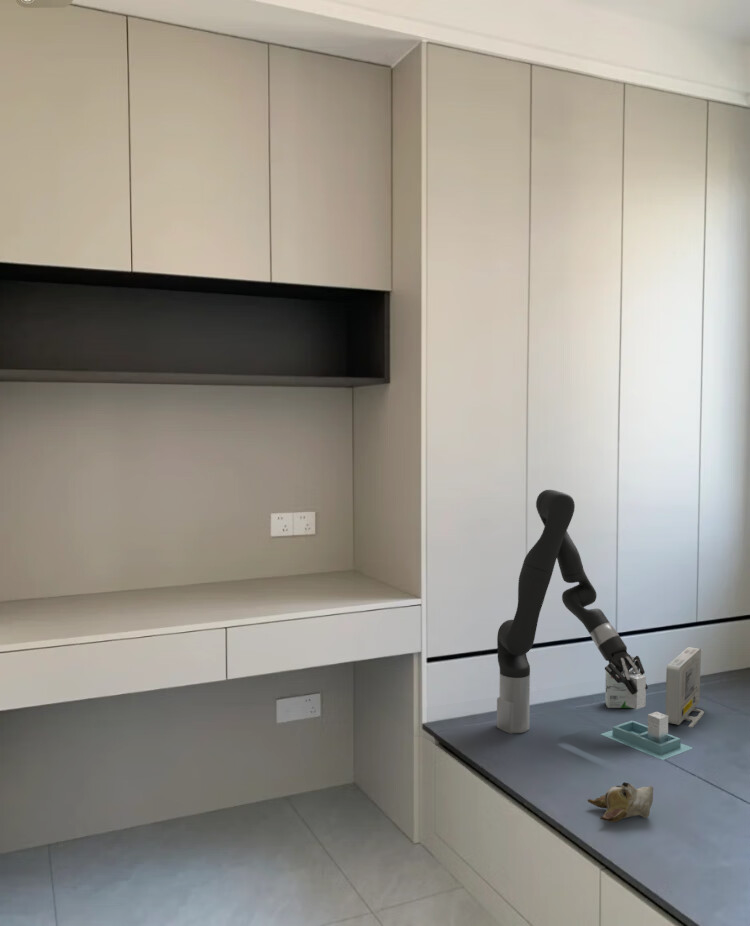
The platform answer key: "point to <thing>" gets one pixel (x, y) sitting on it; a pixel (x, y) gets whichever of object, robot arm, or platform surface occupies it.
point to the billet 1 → (640, 697)
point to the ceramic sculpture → (625, 802)
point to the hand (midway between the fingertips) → (640, 691)
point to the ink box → (615, 693)
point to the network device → (683, 687)
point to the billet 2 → (657, 727)
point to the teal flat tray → (645, 740)
